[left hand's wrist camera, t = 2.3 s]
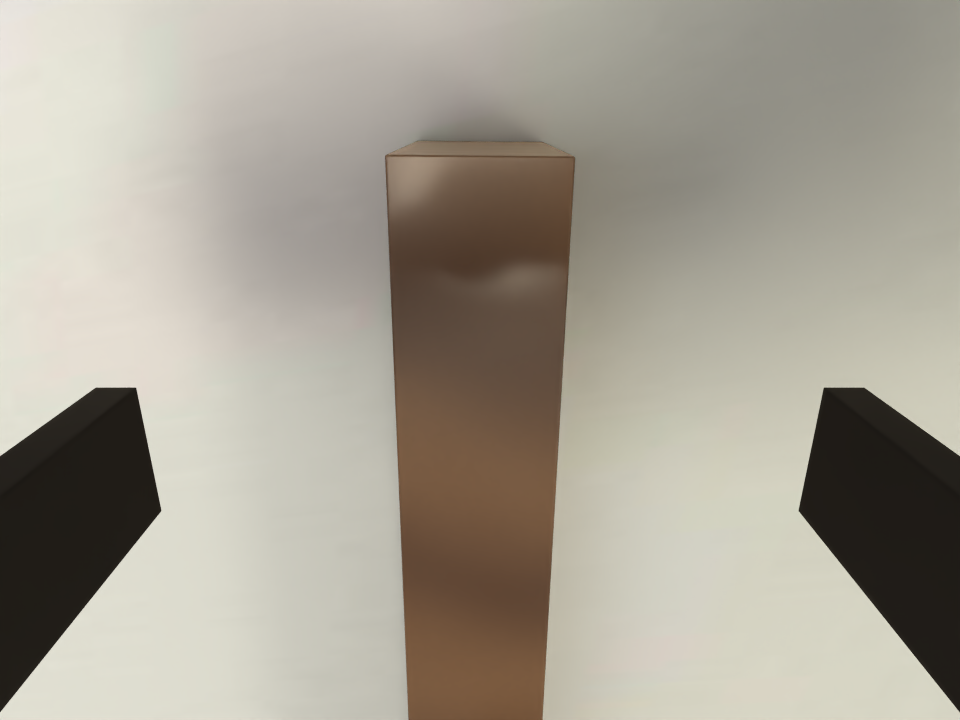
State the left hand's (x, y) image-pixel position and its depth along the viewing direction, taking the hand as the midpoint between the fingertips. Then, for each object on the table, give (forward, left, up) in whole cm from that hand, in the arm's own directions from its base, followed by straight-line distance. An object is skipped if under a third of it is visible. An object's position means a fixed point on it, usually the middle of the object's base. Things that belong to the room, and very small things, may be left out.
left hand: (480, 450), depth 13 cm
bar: (+23, +25, -14) cm, 37 cm away
